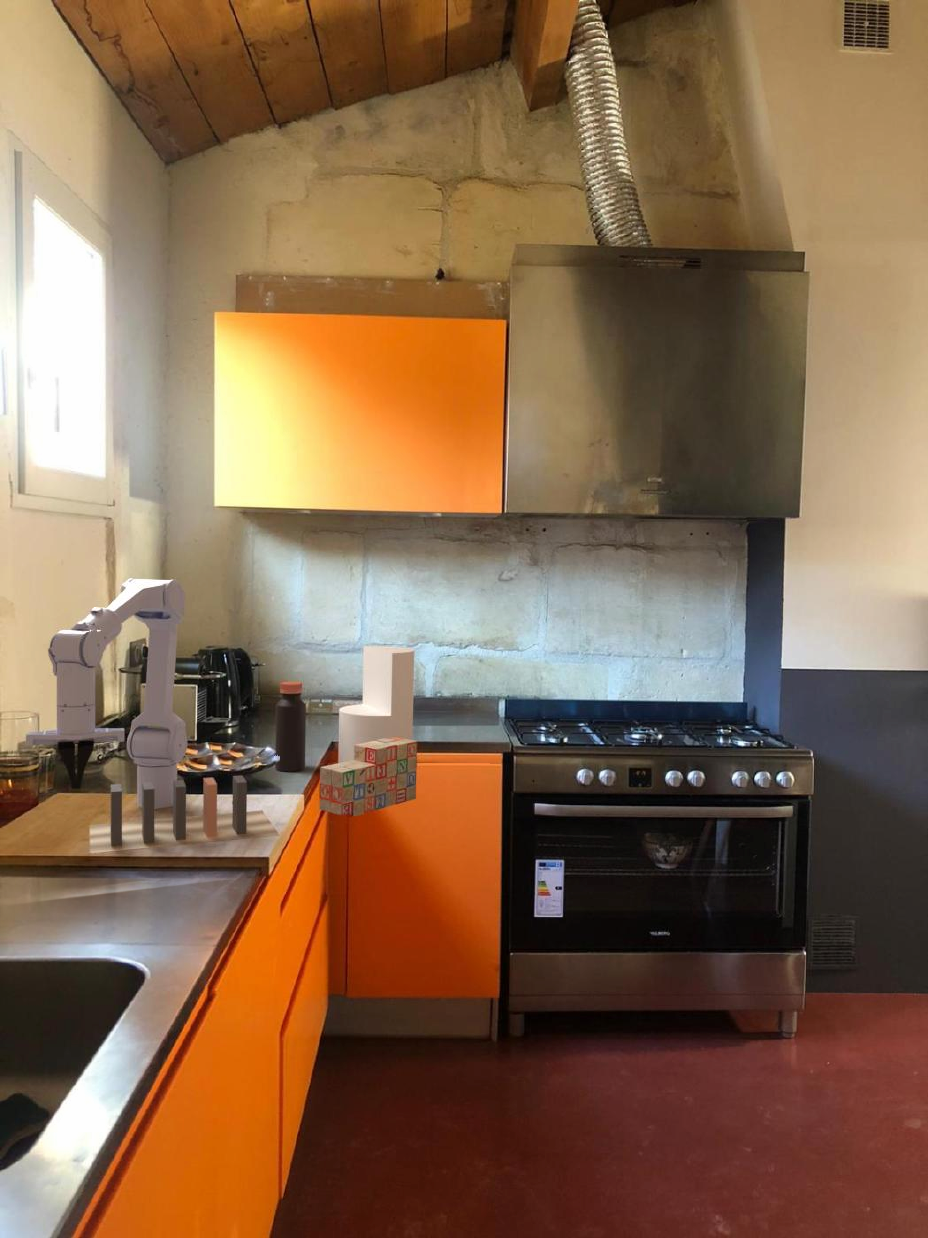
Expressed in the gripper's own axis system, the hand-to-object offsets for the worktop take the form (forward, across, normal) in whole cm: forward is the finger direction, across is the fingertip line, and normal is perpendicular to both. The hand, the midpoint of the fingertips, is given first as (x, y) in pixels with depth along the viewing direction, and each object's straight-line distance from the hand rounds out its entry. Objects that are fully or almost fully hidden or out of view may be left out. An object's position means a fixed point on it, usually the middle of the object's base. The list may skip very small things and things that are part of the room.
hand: (76, 787), depth 143 cm
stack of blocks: (+11, +53, +11) cm, 55 cm away
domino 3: (+10, +16, 0) cm, 19 cm away
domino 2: (+10, +11, 0) cm, 15 cm away
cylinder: (+10, +64, +42) cm, 77 cm away
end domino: (+9, +26, 0) cm, 28 cm away
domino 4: (+9, +21, 0) cm, 23 cm away
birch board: (+10, +17, +3) cm, 20 cm away
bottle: (+10, +45, +47) cm, 66 cm away
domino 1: (+10, +6, 0) cm, 11 cm away
